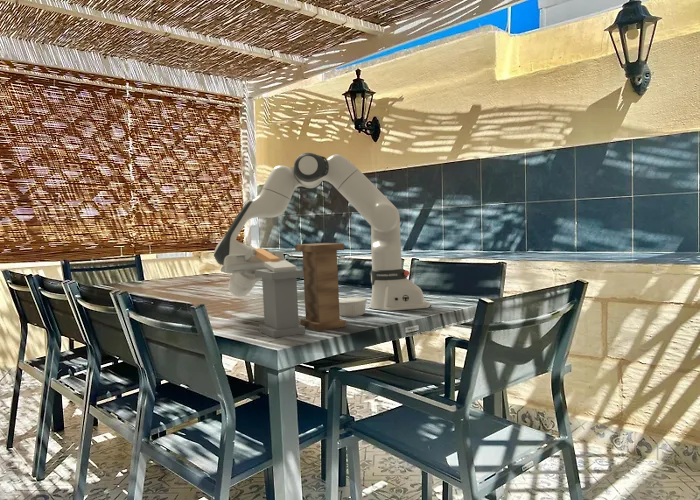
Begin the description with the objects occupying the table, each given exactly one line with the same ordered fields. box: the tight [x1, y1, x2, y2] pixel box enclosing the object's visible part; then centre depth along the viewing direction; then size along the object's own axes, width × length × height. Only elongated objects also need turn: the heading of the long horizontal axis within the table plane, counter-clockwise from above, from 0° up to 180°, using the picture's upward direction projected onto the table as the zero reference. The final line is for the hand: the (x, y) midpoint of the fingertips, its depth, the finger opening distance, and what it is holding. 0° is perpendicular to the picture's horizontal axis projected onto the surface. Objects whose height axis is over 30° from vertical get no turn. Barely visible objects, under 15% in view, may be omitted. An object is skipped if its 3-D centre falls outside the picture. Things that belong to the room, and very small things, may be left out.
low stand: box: [255, 268, 306, 339], centre depth 164 cm, size 14×10×19 cm
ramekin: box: [339, 296, 368, 318], centre depth 191 cm, size 11×11×5 cm
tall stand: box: [294, 242, 347, 332], centre depth 171 cm, size 14×10×26 cm
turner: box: [253, 247, 297, 272], centre depth 168 cm, size 23×7×2 cm, turn 30°
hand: (260, 251), depth 176 cm, fingers closed on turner, 3 cm apart
